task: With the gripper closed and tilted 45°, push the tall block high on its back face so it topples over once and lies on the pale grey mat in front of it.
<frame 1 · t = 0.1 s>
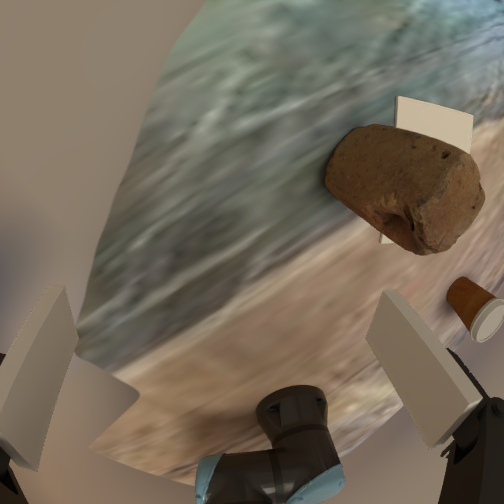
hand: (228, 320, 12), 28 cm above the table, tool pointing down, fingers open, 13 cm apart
block: (353, 162, 39), on the table
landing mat: (430, 174, 41), on the table
disposable coffee cup: (457, 289, 54), on the table
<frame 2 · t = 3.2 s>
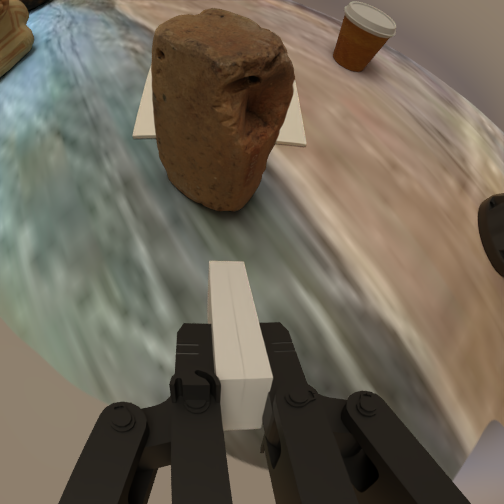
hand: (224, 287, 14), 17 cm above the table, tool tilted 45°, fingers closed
block: (210, 181, 35), on the table
ceramic vessel: (4, 62, 37), on the table
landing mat: (221, 96, 39), on the table
disposable coffee cup: (348, 62, 48), on the table
glass bottle: (35, 3, 44), on the table
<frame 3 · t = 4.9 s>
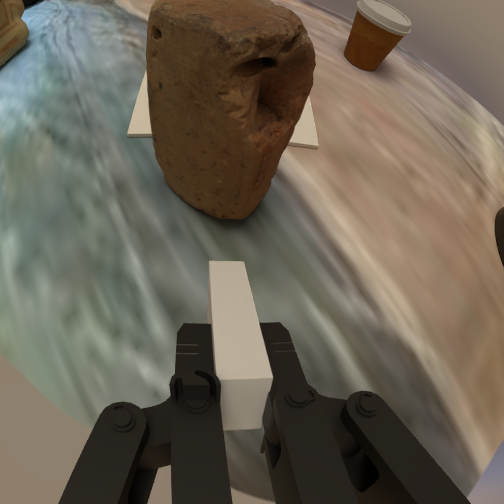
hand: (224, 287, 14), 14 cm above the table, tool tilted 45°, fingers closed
block: (213, 185, 32), on the table
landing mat: (225, 92, 36), on the table
disposable coffee cup: (359, 60, 45), on the table
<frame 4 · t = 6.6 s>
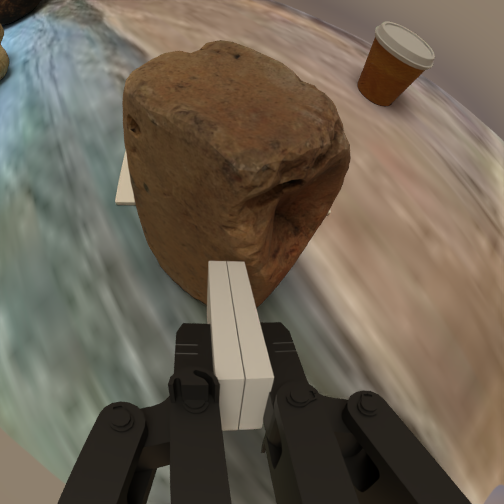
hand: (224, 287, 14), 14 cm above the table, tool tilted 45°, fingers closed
block: (213, 266, 29), on the table, touching gripper
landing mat: (226, 144, 33), on the table
disposable coffee cup: (374, 93, 42), on the table
glass bottle: (19, 14, 39), on the table
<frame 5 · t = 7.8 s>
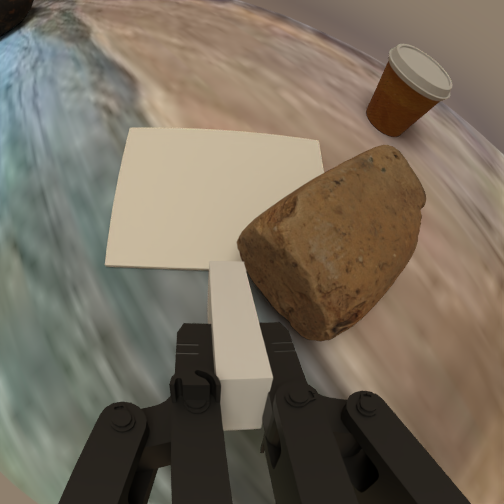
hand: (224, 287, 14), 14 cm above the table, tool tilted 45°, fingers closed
block: (278, 291, 22), point 7 cm above the table
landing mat: (223, 193, 31), on the table
disposable coffee cup: (384, 121, 40), on the table
glass bottle: (5, 27, 37), on the table
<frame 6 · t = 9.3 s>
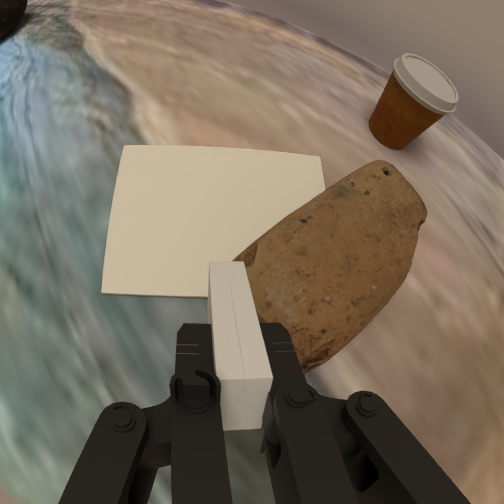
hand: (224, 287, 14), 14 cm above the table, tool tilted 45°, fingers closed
block: (252, 331, 23), point 4 cm above the table, touching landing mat
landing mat: (221, 216, 30), on the table
disposable coffee cup: (386, 132, 39), on the table
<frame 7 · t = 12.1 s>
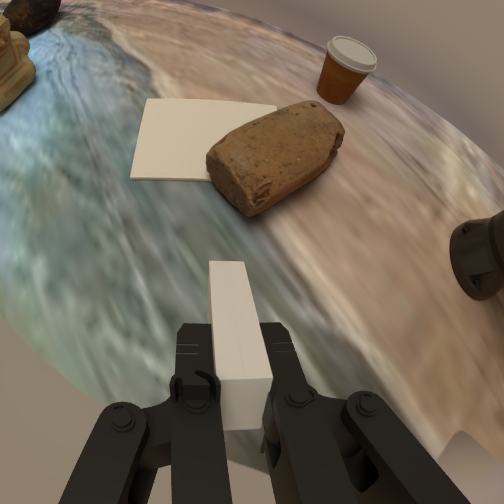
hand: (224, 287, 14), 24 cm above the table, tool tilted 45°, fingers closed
block: (223, 185, 38), point 5 cm above the table, touching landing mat
ceramic vessel: (7, 91, 43), on the table
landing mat: (209, 137, 45), on the table
disposable coffee cup: (331, 94, 55), on the table
glass bottle: (35, 27, 51), on the table
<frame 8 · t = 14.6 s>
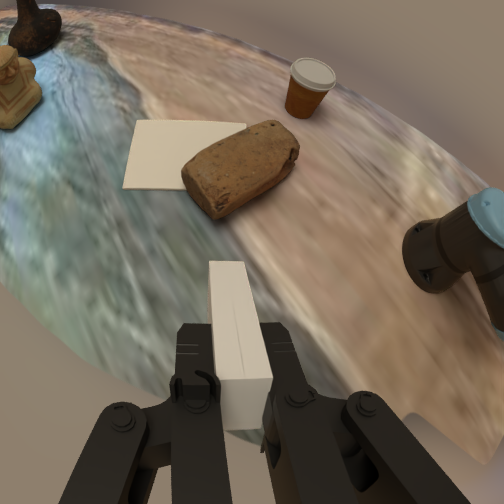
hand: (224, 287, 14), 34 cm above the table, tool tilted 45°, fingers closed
block: (194, 195, 48), point 5 cm above the table, touching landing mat
ceramic vessel: (17, 109, 53), on the table
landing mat: (187, 153, 55), on the table
disposable coffee cup: (298, 109, 64), on the table
glass bottle: (39, 46, 61), on the table
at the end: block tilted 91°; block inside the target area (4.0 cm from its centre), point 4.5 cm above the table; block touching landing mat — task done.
